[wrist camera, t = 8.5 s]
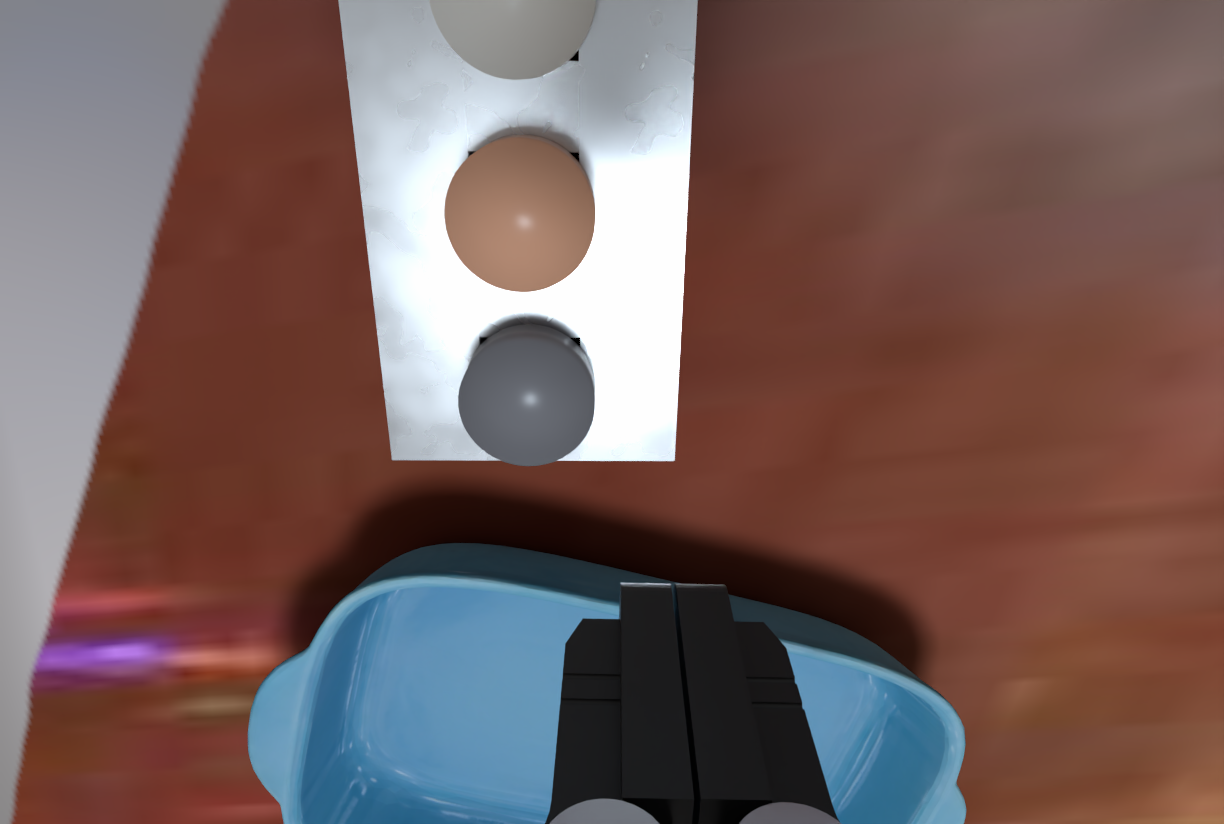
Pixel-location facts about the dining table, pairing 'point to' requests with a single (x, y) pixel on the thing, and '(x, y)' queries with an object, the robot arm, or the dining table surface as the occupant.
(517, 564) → the casserole dish
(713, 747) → the robot arm
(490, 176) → the tan egg
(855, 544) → the dining table surface
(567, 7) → the grey oval piece
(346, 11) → the mount
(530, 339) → the knob
